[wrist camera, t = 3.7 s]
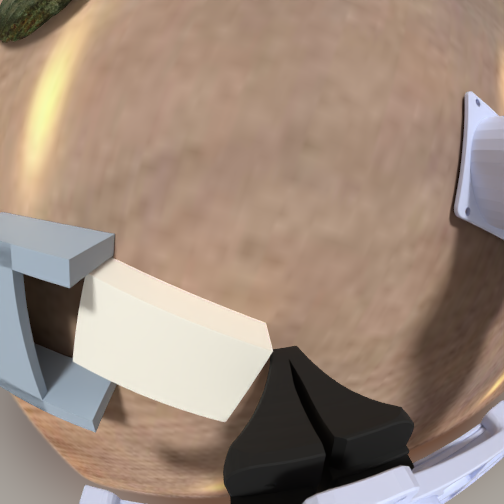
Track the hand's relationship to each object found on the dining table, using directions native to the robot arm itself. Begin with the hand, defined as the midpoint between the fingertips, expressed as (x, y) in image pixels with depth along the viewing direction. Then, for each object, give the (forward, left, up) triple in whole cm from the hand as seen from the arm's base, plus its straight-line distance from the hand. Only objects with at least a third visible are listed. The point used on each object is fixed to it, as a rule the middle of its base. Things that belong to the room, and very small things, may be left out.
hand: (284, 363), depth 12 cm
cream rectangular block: (+6, 0, -1) cm, 6 cm away
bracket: (+13, 0, -1) cm, 13 cm away
